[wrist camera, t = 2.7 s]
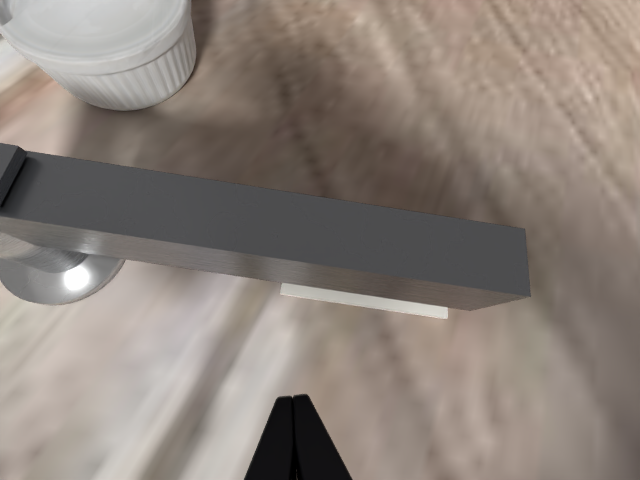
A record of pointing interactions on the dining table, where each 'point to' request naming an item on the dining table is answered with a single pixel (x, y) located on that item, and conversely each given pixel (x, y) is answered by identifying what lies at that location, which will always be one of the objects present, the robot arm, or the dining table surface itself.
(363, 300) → the label plate
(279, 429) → the robot arm
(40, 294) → the post
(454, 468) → the dining table surface
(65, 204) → the bar
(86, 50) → the ramekin
